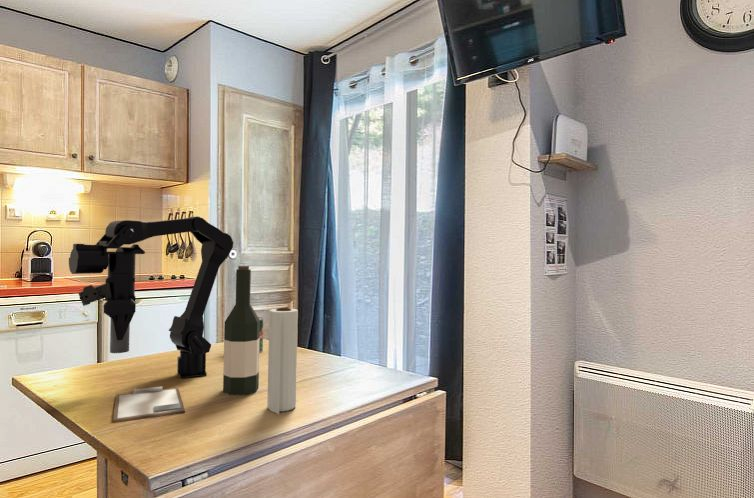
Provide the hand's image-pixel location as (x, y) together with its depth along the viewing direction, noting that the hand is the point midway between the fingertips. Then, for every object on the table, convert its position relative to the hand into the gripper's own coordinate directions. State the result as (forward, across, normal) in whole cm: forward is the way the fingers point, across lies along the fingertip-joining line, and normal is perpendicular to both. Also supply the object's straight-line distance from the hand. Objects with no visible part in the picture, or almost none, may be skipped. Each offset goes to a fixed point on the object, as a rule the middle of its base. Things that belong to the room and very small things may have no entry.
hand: (120, 338), depth 110 cm
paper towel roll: (+12, +28, +31) cm, 44 cm away
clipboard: (+12, +14, +6) cm, 19 cm away
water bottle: (+3, 0, 0) cm, 3 cm away
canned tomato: (+12, -28, +37) cm, 48 cm away
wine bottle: (+12, +12, +26) cm, 31 cm away
